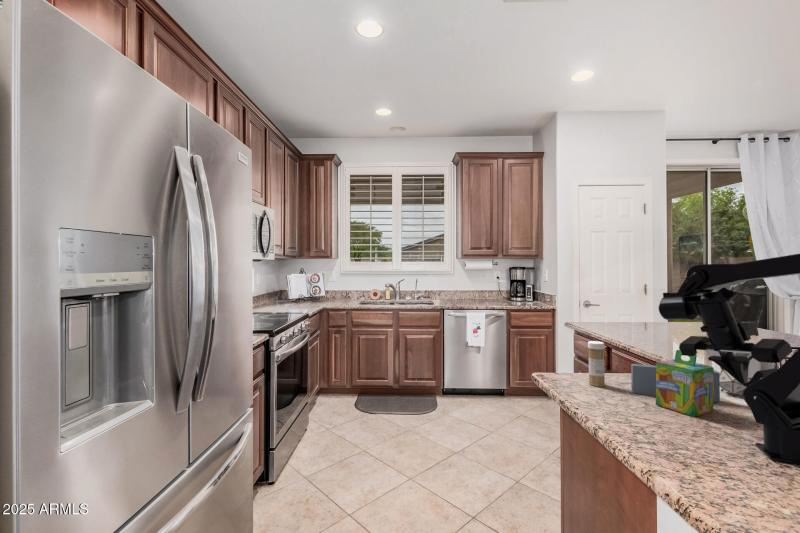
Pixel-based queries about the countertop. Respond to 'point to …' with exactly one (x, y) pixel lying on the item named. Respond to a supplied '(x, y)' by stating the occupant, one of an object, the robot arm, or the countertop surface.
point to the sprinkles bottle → (596, 363)
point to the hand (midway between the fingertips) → (744, 383)
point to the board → (646, 380)
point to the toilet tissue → (753, 367)
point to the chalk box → (685, 386)
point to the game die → (730, 383)
